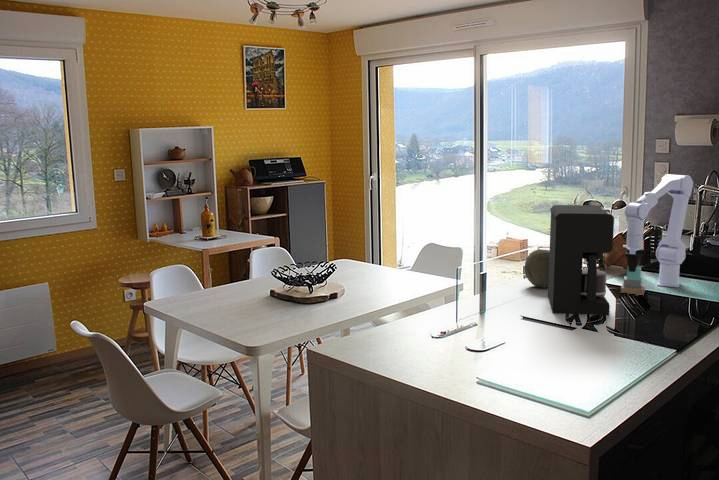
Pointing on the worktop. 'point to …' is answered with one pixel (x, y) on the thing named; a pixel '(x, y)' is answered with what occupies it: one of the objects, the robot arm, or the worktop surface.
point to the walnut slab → (633, 290)
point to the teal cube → (634, 274)
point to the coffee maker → (578, 258)
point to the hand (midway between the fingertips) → (633, 269)
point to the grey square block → (632, 283)
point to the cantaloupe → (538, 268)
